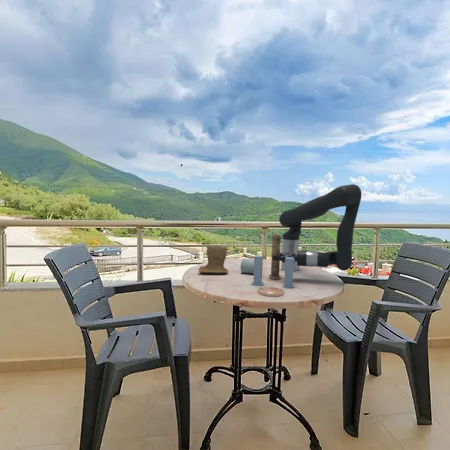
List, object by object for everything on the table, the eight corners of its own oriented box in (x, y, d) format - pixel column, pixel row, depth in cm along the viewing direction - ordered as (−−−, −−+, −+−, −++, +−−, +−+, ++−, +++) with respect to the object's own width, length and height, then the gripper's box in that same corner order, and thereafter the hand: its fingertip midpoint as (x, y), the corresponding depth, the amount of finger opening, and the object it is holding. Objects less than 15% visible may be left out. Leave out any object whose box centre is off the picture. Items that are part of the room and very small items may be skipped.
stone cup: (227, 270, 177) (227, 243, 176) (228, 275, 165) (229, 246, 164) (199, 270, 177) (199, 242, 176) (198, 275, 165) (199, 245, 164)
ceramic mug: (254, 275, 167) (255, 260, 166) (239, 273, 170) (240, 259, 170) (261, 272, 176) (261, 258, 176) (246, 270, 180) (247, 256, 179)
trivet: (273, 288, 143) (273, 285, 143) (289, 294, 134) (289, 292, 133) (252, 290, 138) (252, 288, 138) (267, 297, 129) (267, 295, 128)
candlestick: (276, 276, 165) (277, 233, 163) (283, 279, 160) (284, 235, 158) (266, 277, 162) (268, 234, 161) (273, 280, 157) (275, 235, 156)
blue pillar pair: (294, 285, 149) (295, 257, 148) (294, 288, 144) (295, 259, 143) (253, 282, 153) (253, 254, 152) (251, 284, 148) (252, 256, 147)
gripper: (307, 248, 164) (274, 247, 167) (307, 253, 150) (272, 251, 153) (306, 263, 164) (274, 261, 168) (307, 269, 150) (272, 266, 154)
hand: (273, 256), depth 161 cm, fingers open, 8 cm apart
